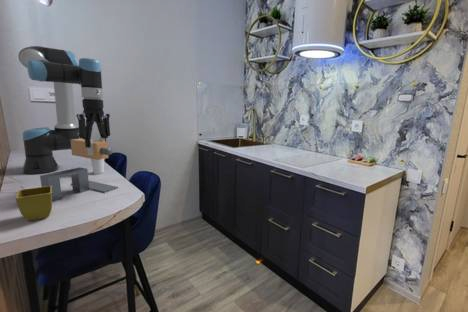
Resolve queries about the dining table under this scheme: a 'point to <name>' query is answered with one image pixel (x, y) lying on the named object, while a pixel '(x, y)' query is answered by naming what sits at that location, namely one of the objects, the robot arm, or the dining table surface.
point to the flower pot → (35, 202)
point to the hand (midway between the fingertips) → (97, 153)
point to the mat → (100, 187)
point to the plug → (98, 148)
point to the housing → (77, 175)
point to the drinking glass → (98, 166)
